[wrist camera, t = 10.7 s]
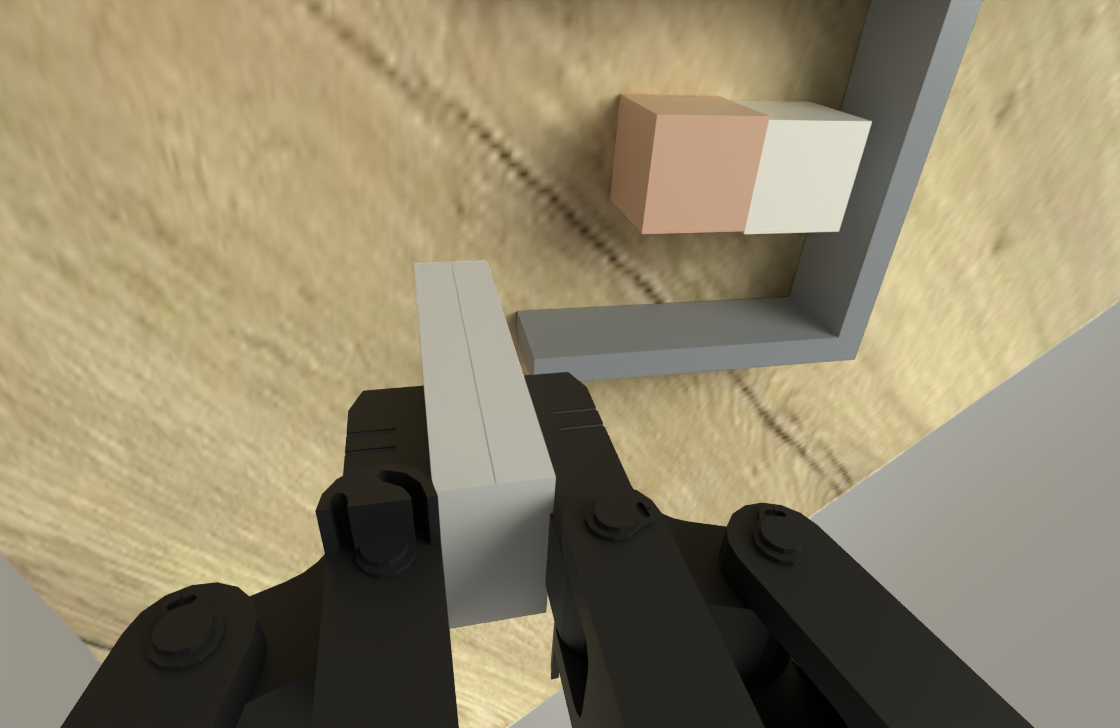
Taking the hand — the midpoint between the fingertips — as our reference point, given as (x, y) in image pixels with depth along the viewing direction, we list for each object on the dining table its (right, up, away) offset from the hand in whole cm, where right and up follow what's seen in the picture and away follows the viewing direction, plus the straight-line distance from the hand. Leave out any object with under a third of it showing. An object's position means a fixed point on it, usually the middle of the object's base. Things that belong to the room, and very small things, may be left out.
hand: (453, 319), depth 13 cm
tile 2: (+12, +10, +19) cm, 24 cm away
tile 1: (+7, +10, +17) cm, 21 cm away
